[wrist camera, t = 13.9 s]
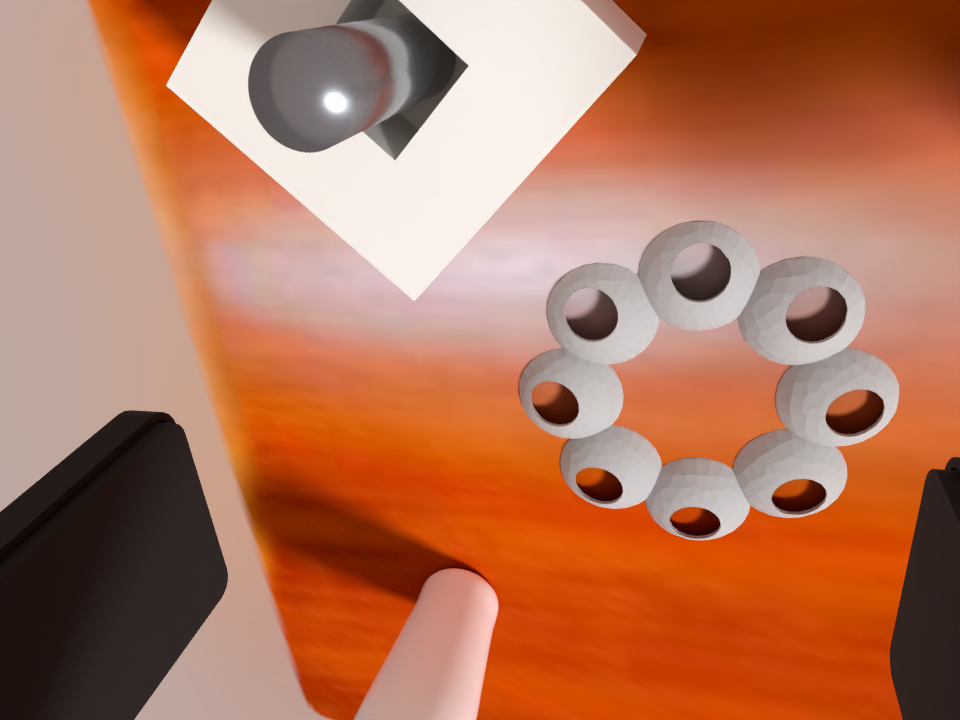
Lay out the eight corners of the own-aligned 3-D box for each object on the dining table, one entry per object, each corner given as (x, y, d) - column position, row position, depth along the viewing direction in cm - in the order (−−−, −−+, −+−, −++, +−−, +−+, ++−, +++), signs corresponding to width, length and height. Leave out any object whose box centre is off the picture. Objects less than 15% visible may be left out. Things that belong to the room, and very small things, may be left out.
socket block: (405, -205, 32) (340, -237, 26) (646, 34, 35) (636, 54, 29) (246, 62, 39) (166, 85, 33) (454, 248, 42) (414, 300, 36)
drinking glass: (501, 556, 51) (436, 764, 38) (518, 632, 54) (463, 850, 41) (405, 554, 53) (312, 752, 40) (426, 628, 56) (346, 834, 43)
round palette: (984, 402, 39) (998, 423, 37) (690, 584, 49) (690, 608, 47) (706, 134, 36) (706, 143, 35) (453, 384, 46) (444, 401, 44)
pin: (407, -6, 34) (283, 4, 23) (471, 50, 34) (377, 86, 24) (363, 62, 35) (229, 101, 25) (424, 115, 36) (317, 175, 25)
